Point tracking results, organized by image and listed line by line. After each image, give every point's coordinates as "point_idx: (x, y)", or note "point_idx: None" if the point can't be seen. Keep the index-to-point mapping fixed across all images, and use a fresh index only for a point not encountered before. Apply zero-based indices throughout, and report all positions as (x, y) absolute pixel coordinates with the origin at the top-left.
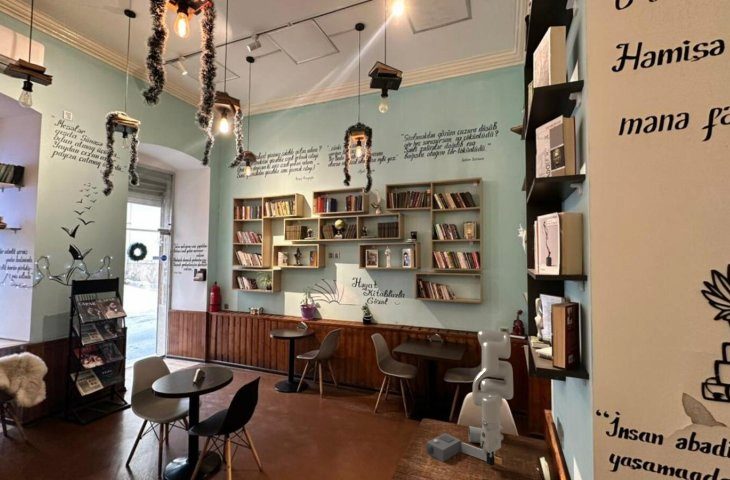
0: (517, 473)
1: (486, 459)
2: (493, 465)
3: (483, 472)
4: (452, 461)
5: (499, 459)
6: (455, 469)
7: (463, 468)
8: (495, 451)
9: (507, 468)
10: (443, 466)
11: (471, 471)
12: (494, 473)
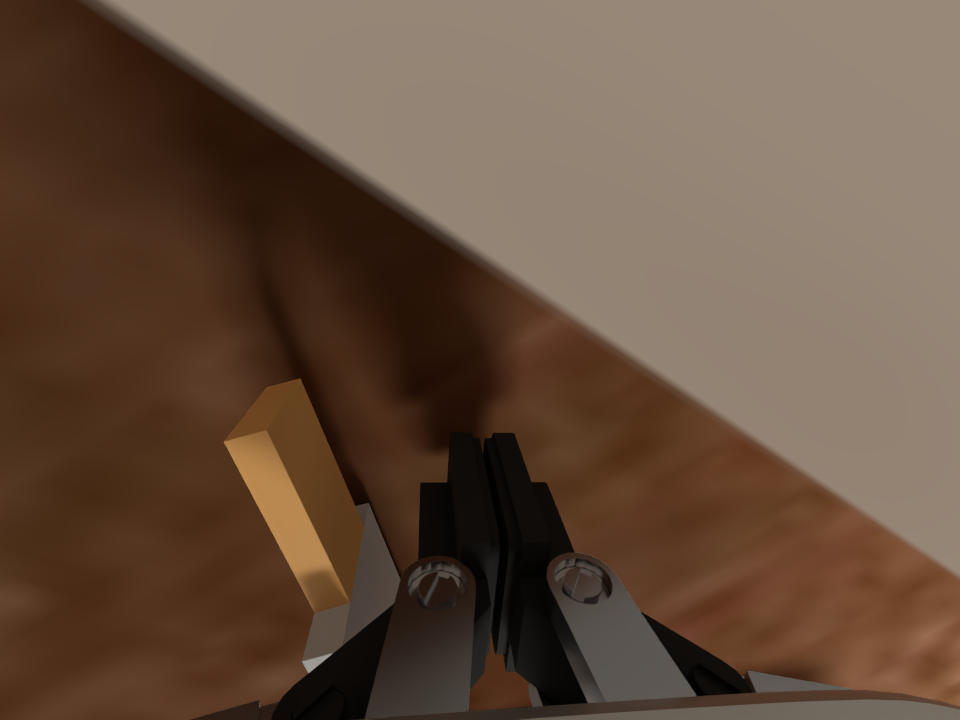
0: (159, 39)
1: (392, 592)
2: (469, 434)
3: (686, 425)
4: None
5: (287, 457)
6: (868, 614)
7: (786, 592)
8: (316, 672)
9: (215, 282)
10: (892, 689)
11: (781, 514)
12: (578, 321)
